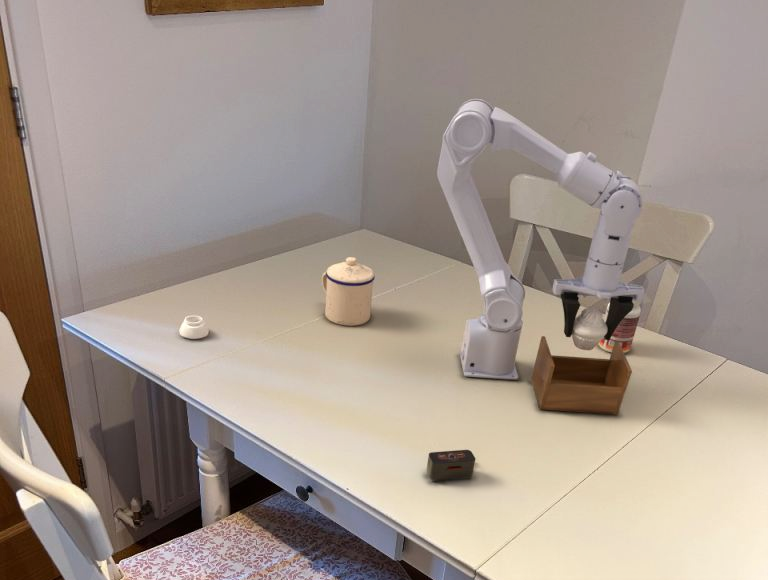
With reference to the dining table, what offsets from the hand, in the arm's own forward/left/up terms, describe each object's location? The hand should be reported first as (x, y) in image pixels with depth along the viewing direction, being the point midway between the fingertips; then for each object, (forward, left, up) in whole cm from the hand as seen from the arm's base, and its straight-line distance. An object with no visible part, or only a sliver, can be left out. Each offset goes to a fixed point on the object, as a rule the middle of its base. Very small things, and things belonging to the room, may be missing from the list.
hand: (586, 336), depth 132 cm
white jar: (-67, +8, -9) cm, 68 cm away
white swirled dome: (0, 0, -2) cm, 2 cm away
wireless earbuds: (-24, -29, -9) cm, 39 cm away
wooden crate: (-2, -6, -8) cm, 10 cm away
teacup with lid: (-41, +21, -9) cm, 47 cm away
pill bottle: (+11, +15, -9) cm, 21 cm away
